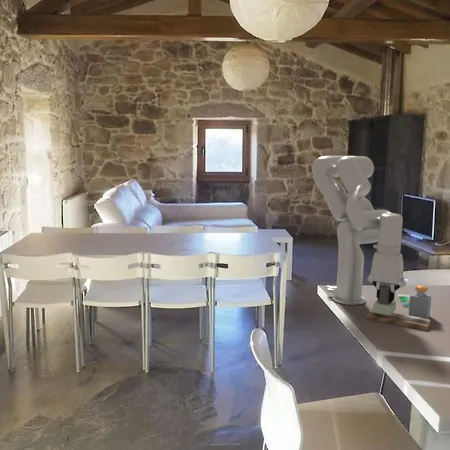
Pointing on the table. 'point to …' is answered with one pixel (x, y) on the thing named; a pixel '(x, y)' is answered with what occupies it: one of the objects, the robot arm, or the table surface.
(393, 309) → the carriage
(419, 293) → the plunger
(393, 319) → the rail board
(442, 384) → the table surface
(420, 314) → the cabinet
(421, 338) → the table surface
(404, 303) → the smartphone
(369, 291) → the table surface
